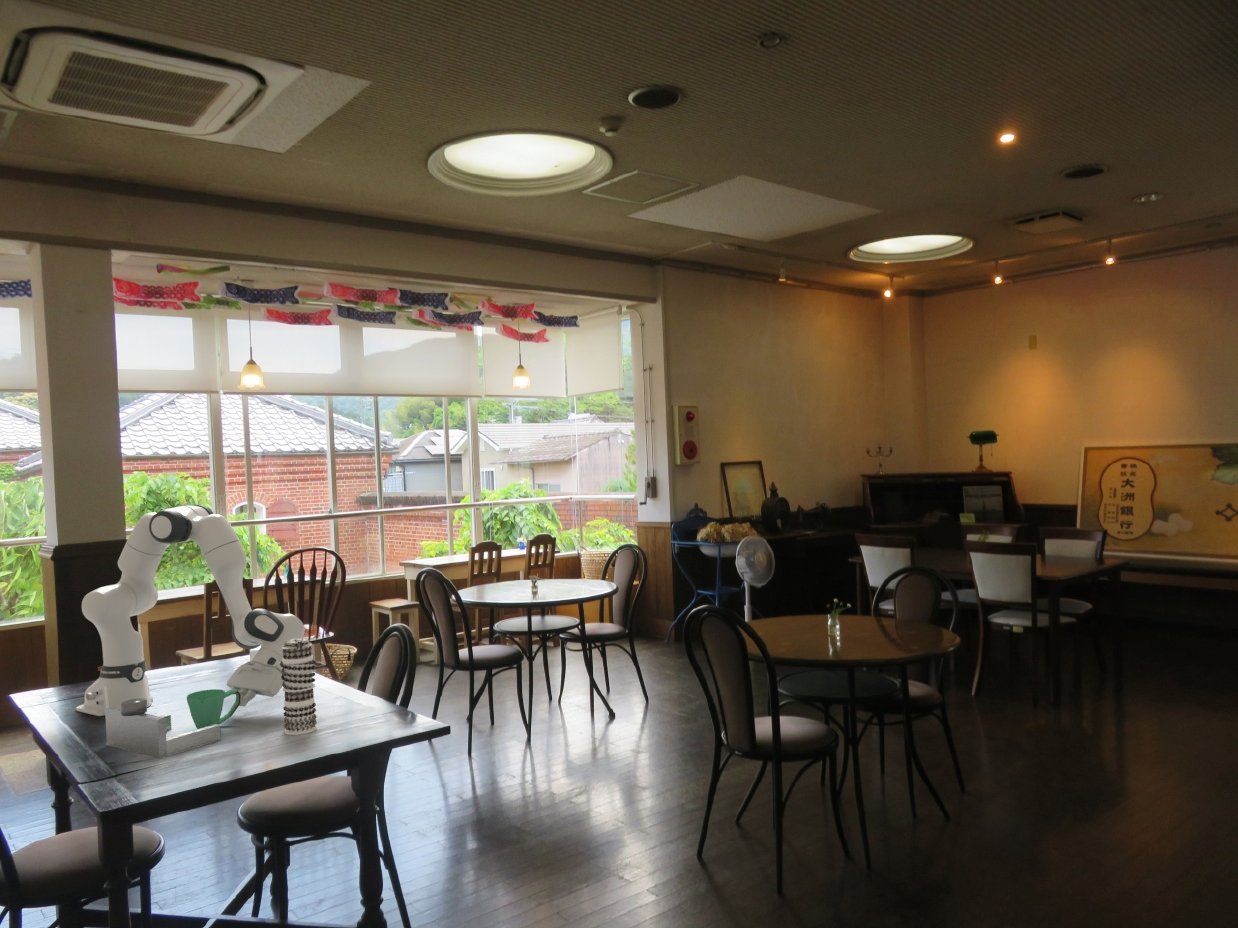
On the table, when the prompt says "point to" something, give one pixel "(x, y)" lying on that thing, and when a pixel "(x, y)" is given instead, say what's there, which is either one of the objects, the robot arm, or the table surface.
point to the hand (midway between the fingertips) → (239, 704)
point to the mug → (210, 706)
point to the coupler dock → (150, 731)
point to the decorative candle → (298, 687)
